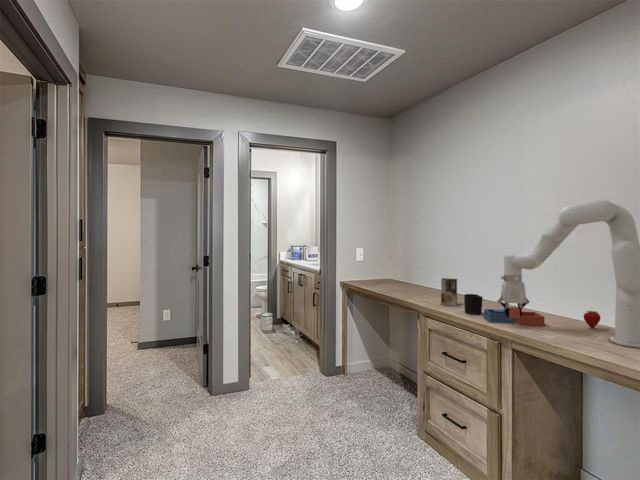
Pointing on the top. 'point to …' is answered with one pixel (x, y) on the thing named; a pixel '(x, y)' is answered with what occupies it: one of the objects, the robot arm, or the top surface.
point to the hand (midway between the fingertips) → (513, 316)
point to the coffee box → (449, 291)
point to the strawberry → (592, 318)
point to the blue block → (499, 311)
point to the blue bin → (497, 316)
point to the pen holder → (473, 304)
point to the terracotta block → (514, 312)
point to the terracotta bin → (530, 319)
